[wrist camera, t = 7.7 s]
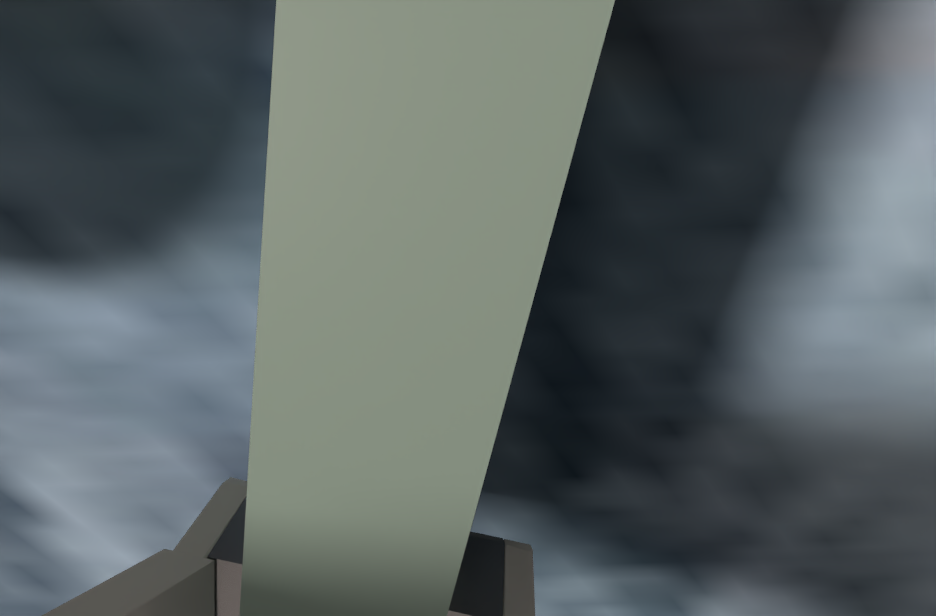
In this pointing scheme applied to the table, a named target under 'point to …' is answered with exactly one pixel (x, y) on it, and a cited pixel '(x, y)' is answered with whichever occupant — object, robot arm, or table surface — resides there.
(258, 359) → the sage green l-bracket
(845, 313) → the table surface
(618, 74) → the table surface
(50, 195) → the table surface
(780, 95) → the table surface
